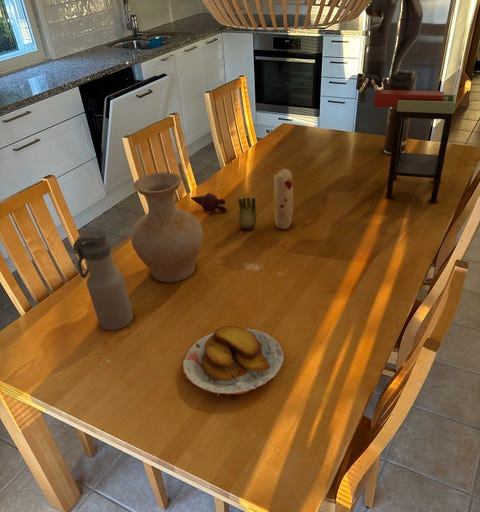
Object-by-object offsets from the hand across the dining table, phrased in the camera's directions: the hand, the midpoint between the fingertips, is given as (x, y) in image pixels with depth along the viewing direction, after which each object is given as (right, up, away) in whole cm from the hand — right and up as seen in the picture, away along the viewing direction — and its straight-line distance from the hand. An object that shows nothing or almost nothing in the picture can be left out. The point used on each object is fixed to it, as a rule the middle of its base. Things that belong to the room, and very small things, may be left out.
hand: (371, 104), depth 196 cm
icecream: (-62, -41, -1) cm, 74 cm away
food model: (-35, -49, -14) cm, 62 cm away
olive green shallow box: (+13, -11, -23) cm, 28 cm away
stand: (+16, -33, +1) cm, 37 cm away
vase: (-72, -67, -31) cm, 103 cm away
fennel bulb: (-48, -50, -14) cm, 71 cm away
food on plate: (-52, -95, -67) cm, 127 cm away
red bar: (+7, -10, -21) cm, 25 cm away
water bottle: (-86, -83, -50) cm, 130 cm away
